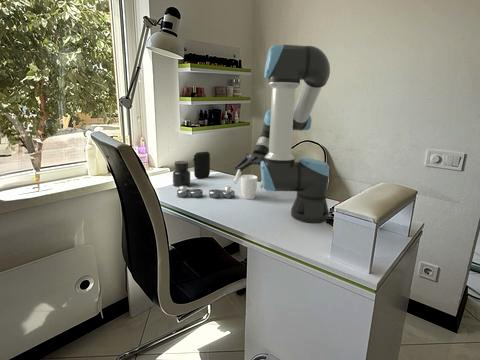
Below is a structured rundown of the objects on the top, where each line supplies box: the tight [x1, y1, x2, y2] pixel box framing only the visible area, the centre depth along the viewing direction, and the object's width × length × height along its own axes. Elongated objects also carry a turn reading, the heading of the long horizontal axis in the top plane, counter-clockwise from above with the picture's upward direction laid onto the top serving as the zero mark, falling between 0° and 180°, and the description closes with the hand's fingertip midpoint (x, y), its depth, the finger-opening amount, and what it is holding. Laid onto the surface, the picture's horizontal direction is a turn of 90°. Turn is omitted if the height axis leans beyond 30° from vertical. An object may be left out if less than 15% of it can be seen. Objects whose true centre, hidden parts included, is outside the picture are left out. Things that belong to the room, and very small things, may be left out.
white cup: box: [240, 174, 258, 200], centre depth 150 cm, size 8×8×10 cm
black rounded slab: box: [192, 151, 211, 179], centre depth 179 cm, size 11×3×15 cm, turn 127°
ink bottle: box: [172, 160, 191, 188], centre depth 166 cm, size 10×9×12 cm
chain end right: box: [208, 186, 236, 200], centre depth 150 cm, size 6×12×4 cm, turn 91°
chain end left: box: [176, 186, 204, 199], centre depth 150 cm, size 6×12×4 cm, turn 91°
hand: (247, 184), depth 149 cm, fingers open, 13 cm apart
